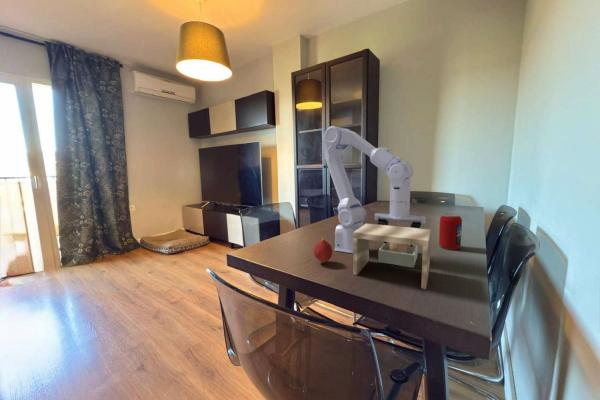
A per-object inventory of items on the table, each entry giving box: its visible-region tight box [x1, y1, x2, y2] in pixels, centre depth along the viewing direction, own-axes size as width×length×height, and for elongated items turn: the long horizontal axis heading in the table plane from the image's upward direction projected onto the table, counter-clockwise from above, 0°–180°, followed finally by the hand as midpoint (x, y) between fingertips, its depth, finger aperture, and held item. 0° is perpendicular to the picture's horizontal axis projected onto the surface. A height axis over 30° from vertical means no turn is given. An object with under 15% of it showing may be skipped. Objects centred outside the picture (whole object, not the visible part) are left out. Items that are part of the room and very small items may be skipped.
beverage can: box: [438, 212, 463, 250], centre depth 88 cm, size 7×7×12 cm
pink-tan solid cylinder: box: [389, 242, 408, 254], centre depth 78 cm, size 6×6×8 cm
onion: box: [313, 237, 333, 264], centre depth 77 cm, size 6×6×8 cm
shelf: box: [352, 223, 432, 290], centre depth 68 cm, size 18×12×12 cm, turn 59°
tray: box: [377, 242, 419, 268], centre depth 80 cm, size 10×15×4 cm, turn 149°
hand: (398, 244), depth 78 cm, fingers open, 7 cm apart
